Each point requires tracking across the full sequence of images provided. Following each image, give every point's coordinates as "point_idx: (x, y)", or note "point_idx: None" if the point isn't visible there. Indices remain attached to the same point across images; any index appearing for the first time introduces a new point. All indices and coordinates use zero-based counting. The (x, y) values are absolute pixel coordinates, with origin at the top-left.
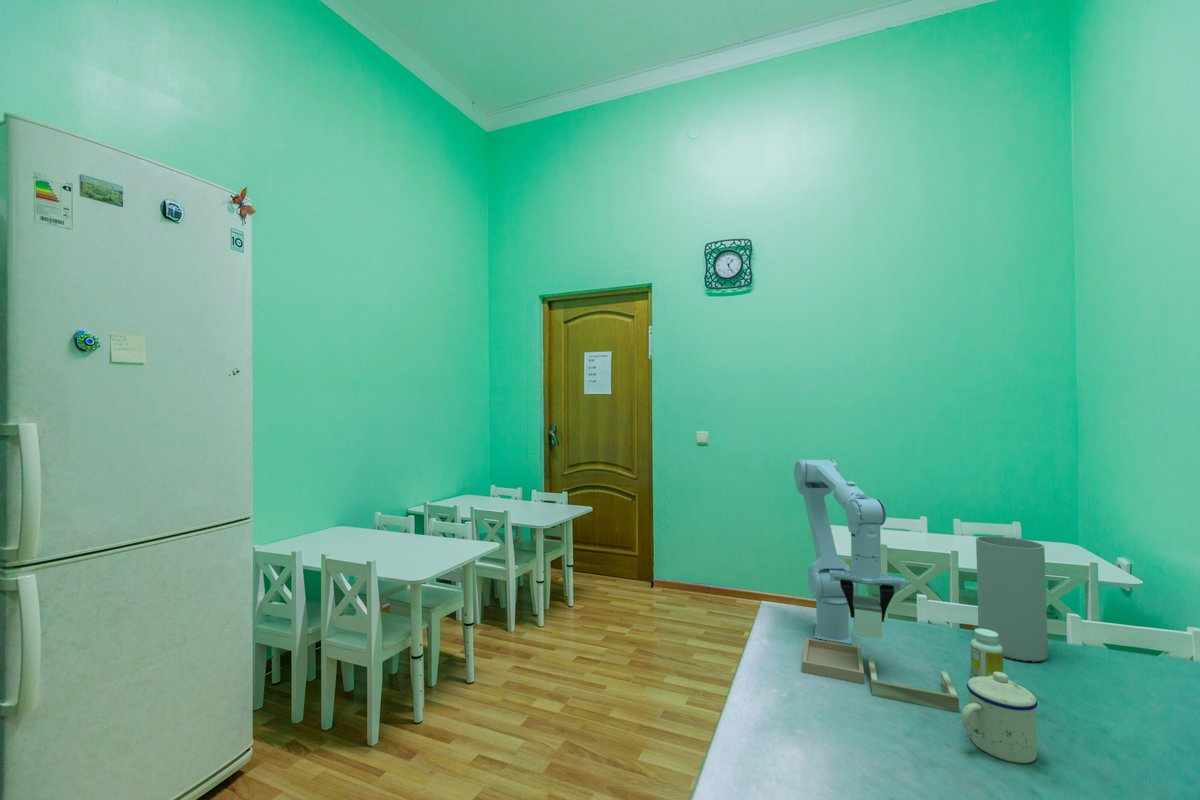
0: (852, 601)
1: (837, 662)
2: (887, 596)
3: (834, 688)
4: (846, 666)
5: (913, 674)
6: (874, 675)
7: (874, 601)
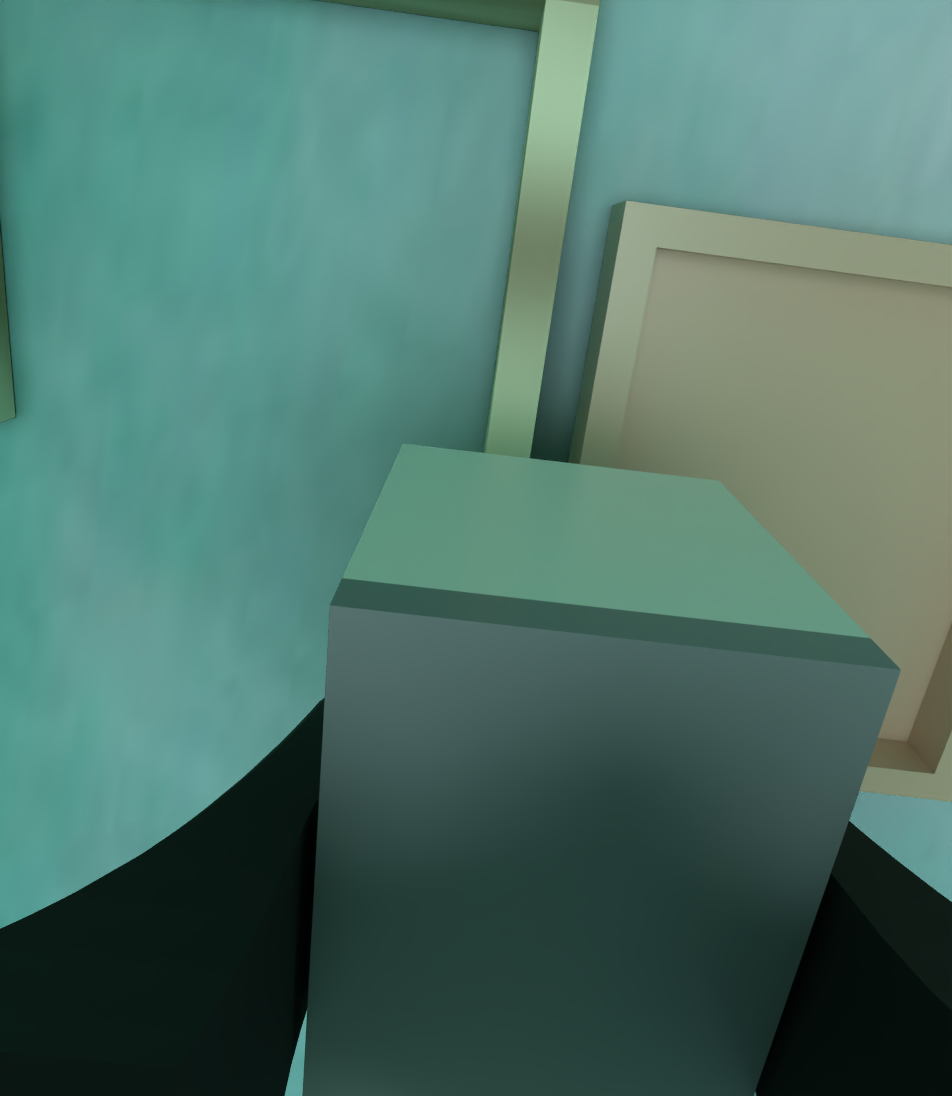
0: (866, 902)
1: (755, 506)
2: (56, 973)
3: (903, 13)
4: (698, 452)
5: (194, 515)
6: (549, 125)
7: (393, 1028)
